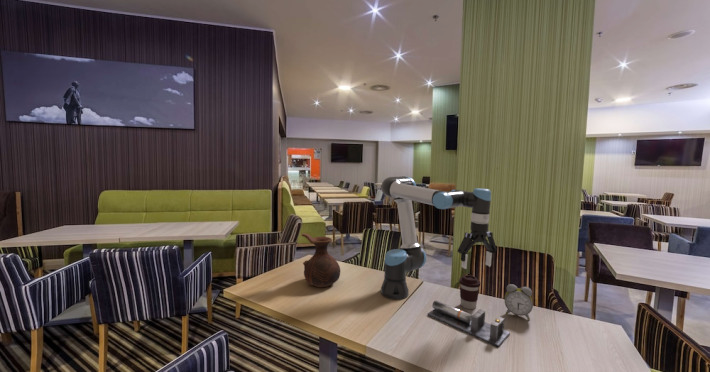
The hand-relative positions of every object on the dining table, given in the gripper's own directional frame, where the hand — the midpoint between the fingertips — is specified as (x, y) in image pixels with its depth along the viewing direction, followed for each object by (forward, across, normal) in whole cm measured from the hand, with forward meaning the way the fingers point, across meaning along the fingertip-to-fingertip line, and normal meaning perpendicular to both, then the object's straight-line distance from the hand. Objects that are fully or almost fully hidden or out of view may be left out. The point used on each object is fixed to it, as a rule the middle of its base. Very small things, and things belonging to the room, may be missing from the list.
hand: (476, 266), depth 136 cm
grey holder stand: (+24, -8, -6) cm, 26 cm away
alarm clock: (+24, +21, -6) cm, 33 cm away
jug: (+26, -62, +54) cm, 87 cm away
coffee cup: (+24, +4, +8) cm, 26 cm away
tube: (+23, -11, +1) cm, 26 cm away
